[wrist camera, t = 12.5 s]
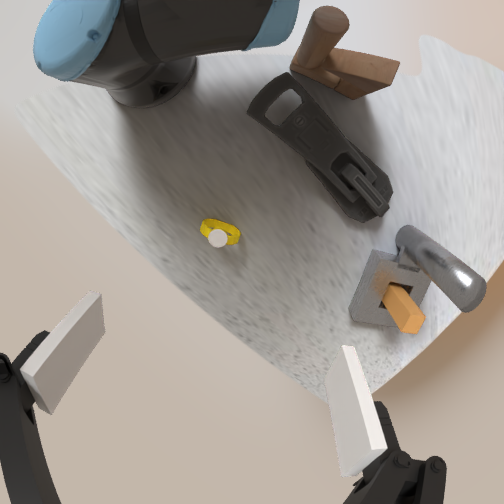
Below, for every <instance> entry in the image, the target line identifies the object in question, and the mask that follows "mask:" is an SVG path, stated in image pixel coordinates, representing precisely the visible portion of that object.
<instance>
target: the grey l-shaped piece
mask: <svg viewBox="0 0 504 504" xmlns="http://www.w3.org/2000/svg"><path fill="white" fill-rule="evenodd" d="M396 245H397V247H398V248H399V249H400V253H399V255H398V256H397V255H393V254H389V253H385V252H382V251H378V250H374V249H372V252H371V254H370V257H369V260H368V262H367V265H366V267H365V270H364V273H363V275H362V278H361V280H360V283H359V285H358V287H357V290H356V292H355V295H354V297H353V299H352V302H351V304H350V306H349V311H350V313H351V315H352V318H353V320H354V321H357V322H364V323H370V324H377V325H384V326H391V327H398V326H397V324H396V323H395V321H394V319H393V318H392V316H391V314H390V313H389V311H388V310H387V308H386V307H385V305H384V303H383V302H382V298H383V296H384V294H385V292H386V290H387V287H388V285H389V283H390V281H391V282H396V283H400V284H401V286H402V287H403V288H404V290H405V291H406V292H407V293H408V295H409V296H410V297H411V298H412V300H413V301H414V302H415V303H416V305H417V306H418V307H419V306H420V304H421V302H422V300H423V298H424V296H425V293H426V291H427V289H428V287H429V285H430V283H431V281H433V282H434V283H435V284H436V285H437V286H438V287H439V288H440V289H441V290H442V291H443V292H444V293H445V294H446V295H447V296H448V297H449V299H450V300H451V301H452V302H453V303H454V304H455V305H456V306H457V307H458V308H459V309H460V310H461V311H462V312H470V311H472V310H474V309H475V308H476V307H477V306H478V305H479V304H480V303H481V301H482V300H483V298H484V296H485V292H486V281H485V280H484V279H483V278H482V277H481V276H480V275H479V274H477V273H476V272H475V271H474V270H472V269H471V268H470V267H469V266H467V265H466V264H465V263H464V262H462V261H461V260H460V259H458V258H457V257H456V256H454V255H453V254H452V253H450V252H449V251H448V250H446V249H445V248H444V247H442V246H441V245H440V244H438V243H437V242H435V241H434V240H433V239H431V238H430V237H428V236H427V235H425V234H424V233H423V232H421V231H420V230H418V229H417V228H415V227H414V226H411V225H406V226H404V227H402V228H401V229H400V230H399V231H398V233H397V235H396ZM398 328H399V327H398Z"/></svg>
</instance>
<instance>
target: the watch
mask: <svg viewBox="0 0 504 504" xmlns="http://www.w3.org/2000/svg"><path fill="white" fill-rule="evenodd" d="M209 227H212V228H214V229H210V228H209ZM200 231H201V233H202V234H203V235H204V236H205V237H207V238H208V241H209V243H210V244H211V245H212V246H214V247H217V248H219V247H223V246H224V245H225V244H226V245H233V244H237V242H238V241H239V238H240V235H241V232H240V231H239V229H238V228H236V227H235V226H233V225H230V224H228V223H225V222H222V221H219V220H217V219H210V218H209V219H204V220H203V222H202V225H201V228H200ZM227 233H230V234H231V235H232V236H231V235H228V234H227Z"/></svg>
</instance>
